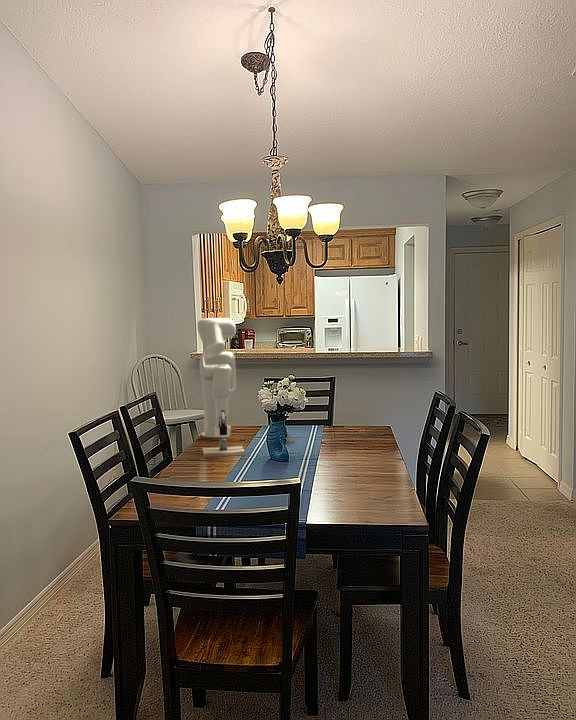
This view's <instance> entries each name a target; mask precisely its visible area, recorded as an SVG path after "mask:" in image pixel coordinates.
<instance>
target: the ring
mask: <svg viewBox="0 0 576 720" xmlns="http://www.w3.org/2000/svg"><path fill="white" fill-rule="evenodd" d="M226 426H227V435H220V426H216V427H215V437H214V438H228V437H229V438H230V437H231V436H232V427H231V425H227V424H226Z"/></svg>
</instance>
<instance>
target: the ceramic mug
mask: <svg viewBox="0 0 576 720" xmlns="http://www.w3.org/2000/svg"><path fill="white" fill-rule="evenodd" d="M287 441H289V442H292V443H293V442H295V438H294V437H293V436H292V435H289V432H288V431H287Z"/></svg>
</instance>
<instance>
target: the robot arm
mask: <svg viewBox="0 0 576 720" xmlns="http://www.w3.org/2000/svg"><path fill="white" fill-rule="evenodd" d="M196 325H197V326H196V327H197V331H198V335H199V337H200V339H201V342H202V353H201V356H200V357H199V374H200V378H201V389H202V397H203V419H204V432H202V433H201V436H202V437H203V438H209V439H210V438H216V437H215V427H216V426H220V435H227V426H226V425H227V420H228V419H229V417H228V414H229V406H228V405H229V400H228V399H229V398H231V392H234V391H235V390H236V388H237V369H236V357H235V354H234V353H233V352H232V351H225V350H226V342H225V338H228V339H229V338H234V337H235V336H236V333H237V328H236V324H235V321H234V319H232V317H231V318H229V317H212V318H211V317H207V318H201V319H199V320H198V322H197V324H196Z"/></svg>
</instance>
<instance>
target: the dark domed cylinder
mask: <svg viewBox="0 0 576 720" xmlns="http://www.w3.org/2000/svg"><path fill="white" fill-rule="evenodd" d="M218 440H219V441H218V442H219V443H218V445H219V446H218V447H220V450H221V451H225V450H227V447H228V439H227V438H221V439H218Z"/></svg>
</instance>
